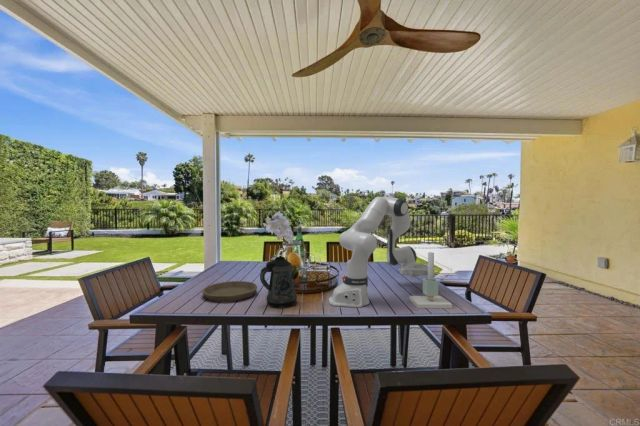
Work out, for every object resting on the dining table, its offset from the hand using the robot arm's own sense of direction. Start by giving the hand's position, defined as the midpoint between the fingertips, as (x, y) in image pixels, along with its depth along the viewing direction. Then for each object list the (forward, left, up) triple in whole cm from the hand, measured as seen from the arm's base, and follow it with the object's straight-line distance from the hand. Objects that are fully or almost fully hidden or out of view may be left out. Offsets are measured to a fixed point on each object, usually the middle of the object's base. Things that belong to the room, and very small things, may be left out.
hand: (421, 274), depth 175 cm
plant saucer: (-113, +3, -14) cm, 114 cm away
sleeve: (0, -13, -8) cm, 15 cm away
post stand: (0, -13, -13) cm, 18 cm away
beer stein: (-82, -13, -13) cm, 84 cm away
